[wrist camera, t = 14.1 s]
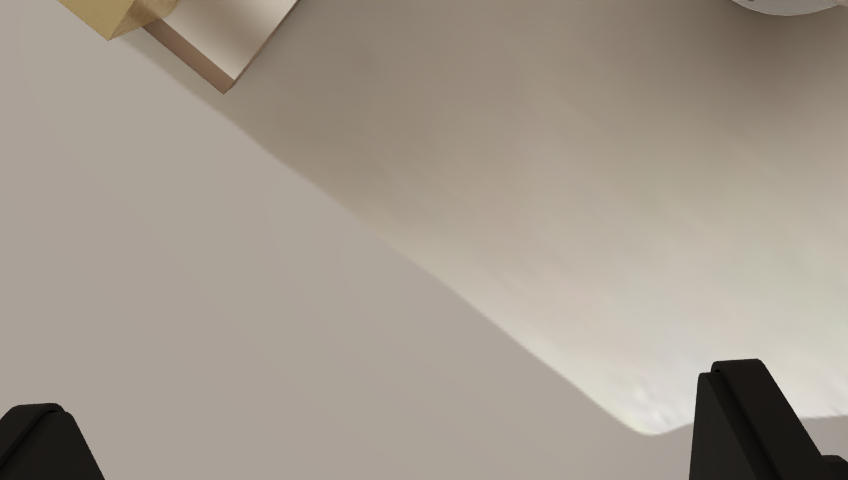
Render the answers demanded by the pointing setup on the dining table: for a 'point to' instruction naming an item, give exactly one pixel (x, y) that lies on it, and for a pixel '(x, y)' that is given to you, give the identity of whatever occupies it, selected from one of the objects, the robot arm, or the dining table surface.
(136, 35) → the dining table surface
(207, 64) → the balance beam
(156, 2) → the tan wooden cube
